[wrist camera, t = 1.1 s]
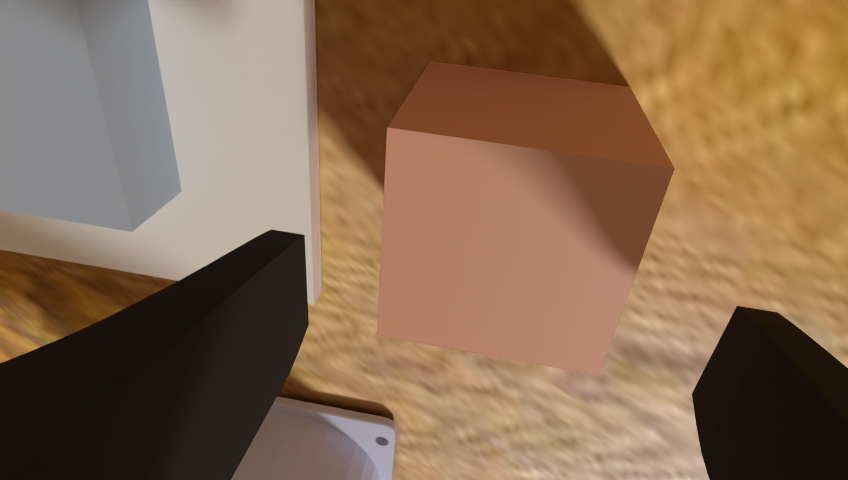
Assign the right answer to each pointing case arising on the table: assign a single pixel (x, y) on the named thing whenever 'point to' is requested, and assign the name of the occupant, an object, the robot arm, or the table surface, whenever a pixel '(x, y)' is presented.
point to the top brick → (516, 214)
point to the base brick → (83, 113)
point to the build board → (216, 145)
